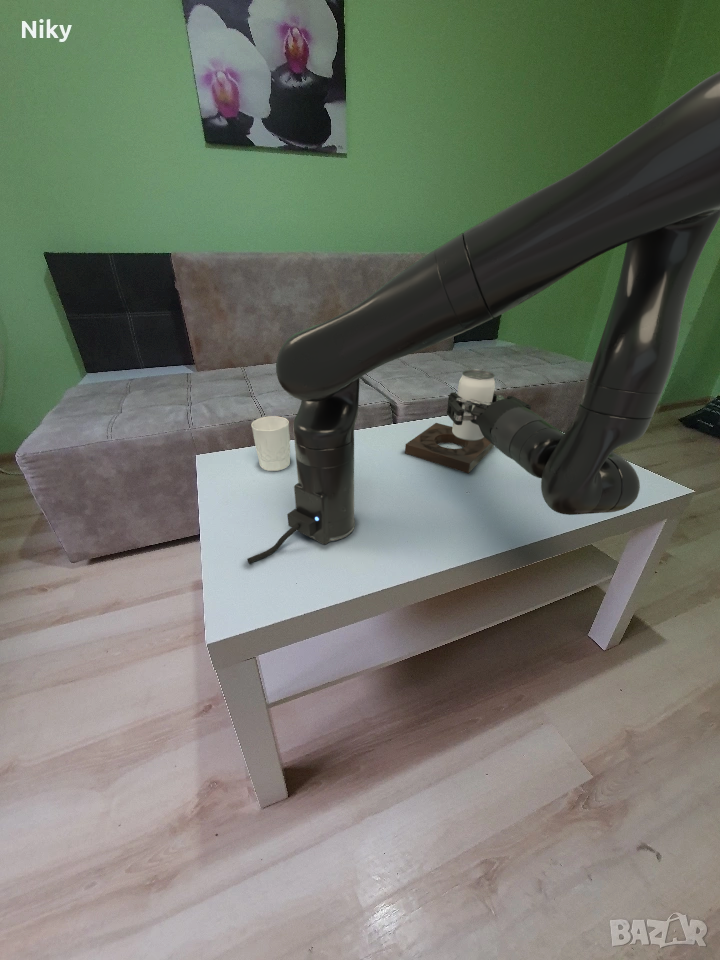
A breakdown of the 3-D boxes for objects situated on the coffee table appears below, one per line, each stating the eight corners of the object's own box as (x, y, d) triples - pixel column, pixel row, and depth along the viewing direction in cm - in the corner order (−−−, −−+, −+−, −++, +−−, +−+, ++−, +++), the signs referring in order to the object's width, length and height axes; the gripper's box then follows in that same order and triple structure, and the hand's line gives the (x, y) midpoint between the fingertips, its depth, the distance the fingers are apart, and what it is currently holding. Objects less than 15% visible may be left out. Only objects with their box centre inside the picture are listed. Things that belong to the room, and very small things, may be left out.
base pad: (468, 473, 84) (470, 463, 83) (404, 453, 92) (405, 444, 91) (493, 447, 95) (495, 438, 94) (434, 431, 103) (435, 422, 102)
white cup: (289, 453, 92) (285, 414, 86) (295, 469, 85) (291, 427, 80) (255, 458, 89) (249, 418, 84) (259, 475, 83) (252, 432, 78)
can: (450, 427, 79) (459, 368, 73) (483, 429, 78) (494, 369, 72) (452, 440, 74) (461, 377, 68) (487, 442, 73) (499, 379, 67)
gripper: (562, 404, 60) (506, 375, 74) (476, 411, 57) (435, 379, 71) (549, 448, 64) (498, 412, 78) (468, 455, 61) (431, 417, 75)
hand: (468, 396), depth 74 cm, fingers closed on can, 6 cm apart
